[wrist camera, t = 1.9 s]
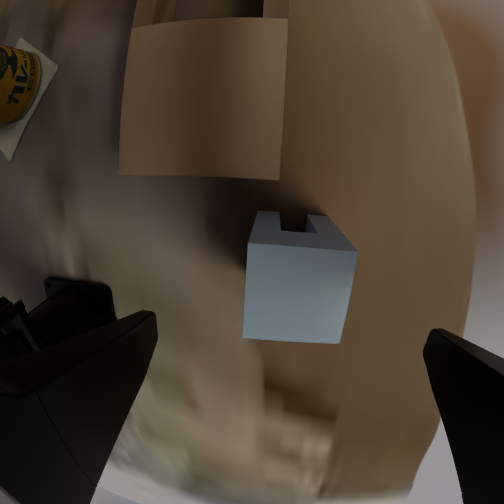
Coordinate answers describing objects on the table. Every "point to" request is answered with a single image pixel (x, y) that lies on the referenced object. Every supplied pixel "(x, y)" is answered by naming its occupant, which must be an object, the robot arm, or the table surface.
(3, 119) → the condiment
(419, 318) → the table surface
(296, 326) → the clip
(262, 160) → the brown slotted block
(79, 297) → the robot arm
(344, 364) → the table surface
